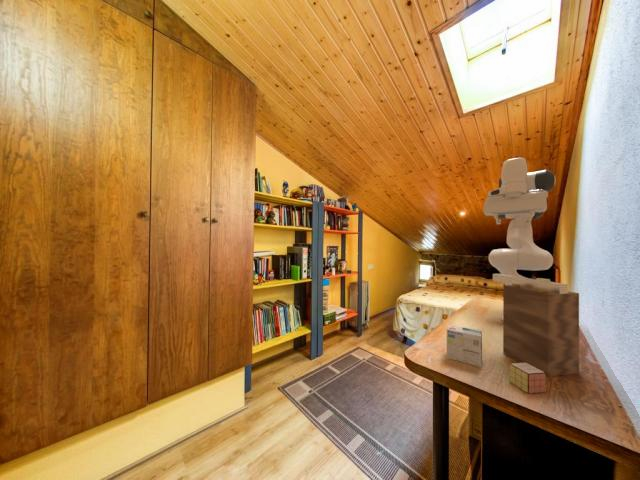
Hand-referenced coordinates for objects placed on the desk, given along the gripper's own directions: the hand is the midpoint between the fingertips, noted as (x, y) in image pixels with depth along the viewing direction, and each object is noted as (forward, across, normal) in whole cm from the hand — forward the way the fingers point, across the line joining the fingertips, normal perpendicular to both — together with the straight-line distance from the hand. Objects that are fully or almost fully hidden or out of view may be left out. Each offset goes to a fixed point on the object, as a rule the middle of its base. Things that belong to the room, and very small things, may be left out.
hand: (512, 223), depth 95 cm
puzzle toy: (+58, -5, +15) cm, 60 cm away
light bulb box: (+56, +12, +10) cm, 58 cm away
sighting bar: (+26, -4, +1) cm, 26 cm away
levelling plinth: (+52, -7, -4) cm, 52 cm away
